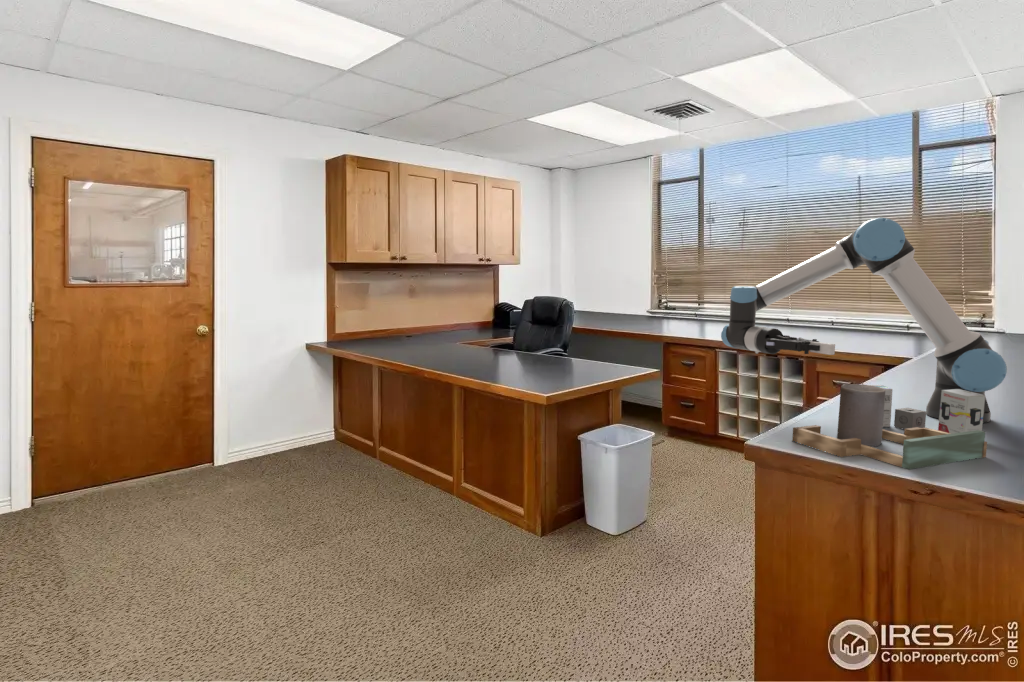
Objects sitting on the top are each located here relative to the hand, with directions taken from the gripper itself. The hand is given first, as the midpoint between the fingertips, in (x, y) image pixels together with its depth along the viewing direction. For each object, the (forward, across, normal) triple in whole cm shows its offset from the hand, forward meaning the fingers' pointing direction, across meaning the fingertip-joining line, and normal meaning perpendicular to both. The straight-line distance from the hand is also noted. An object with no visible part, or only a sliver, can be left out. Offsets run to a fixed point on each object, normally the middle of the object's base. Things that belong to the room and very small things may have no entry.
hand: (832, 349), depth 154 cm
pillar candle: (+9, 0, -22) cm, 24 cm away
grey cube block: (+4, -25, -22) cm, 34 cm away
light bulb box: (-4, -18, -22) cm, 29 cm away
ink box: (+15, -28, -22) cm, 39 cm away
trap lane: (+15, 0, -22) cm, 27 cm away
